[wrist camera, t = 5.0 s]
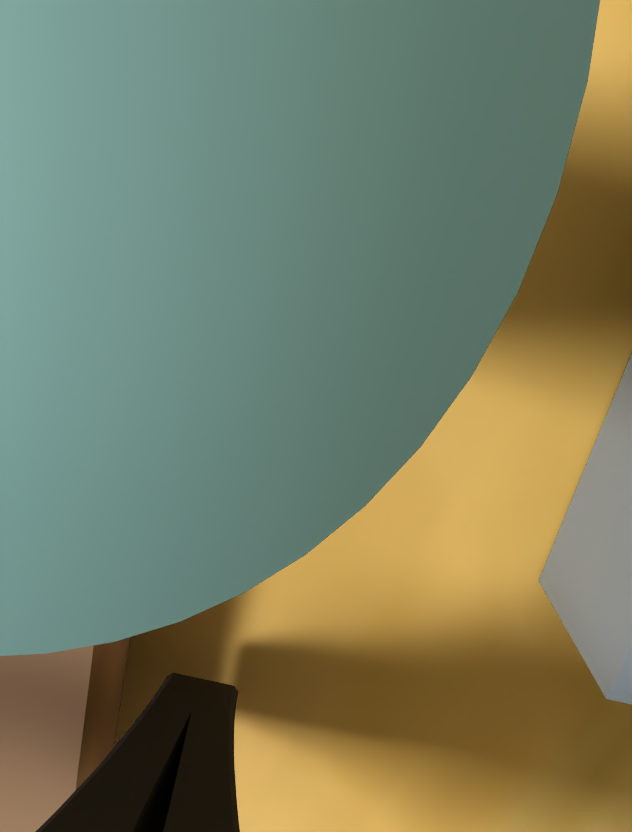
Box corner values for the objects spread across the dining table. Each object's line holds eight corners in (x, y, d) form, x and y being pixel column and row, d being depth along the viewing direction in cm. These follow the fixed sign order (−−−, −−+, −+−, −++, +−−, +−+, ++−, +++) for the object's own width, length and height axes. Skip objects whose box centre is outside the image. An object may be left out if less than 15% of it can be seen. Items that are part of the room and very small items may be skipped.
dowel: (350, 343, 9) (369, 754, 2) (147, 297, 9) (-701, 522, 2) (404, 118, 8) (1019, -1213, 1) (176, 63, 8) (-1741, -1996, 1)
